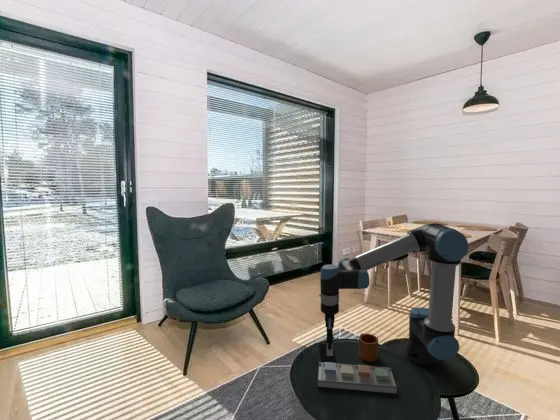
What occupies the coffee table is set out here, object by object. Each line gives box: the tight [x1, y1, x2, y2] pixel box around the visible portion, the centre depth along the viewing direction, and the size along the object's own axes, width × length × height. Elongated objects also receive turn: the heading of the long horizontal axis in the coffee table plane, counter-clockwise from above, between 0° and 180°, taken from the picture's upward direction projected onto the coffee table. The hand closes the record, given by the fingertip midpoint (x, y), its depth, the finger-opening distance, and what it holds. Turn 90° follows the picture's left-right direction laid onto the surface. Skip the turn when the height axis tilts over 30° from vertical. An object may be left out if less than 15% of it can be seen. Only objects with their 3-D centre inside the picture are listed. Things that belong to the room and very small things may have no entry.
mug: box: [358, 333, 379, 363], centre depth 146 cm, size 9×12×9 cm
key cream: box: [341, 365, 353, 378], centre depth 130 cm, size 5×5×2 cm
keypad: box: [317, 361, 398, 394], centre depth 129 cm, size 31×12×3 cm, turn 80°
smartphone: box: [318, 343, 337, 364], centre depth 148 cm, size 7×1×15 cm
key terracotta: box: [357, 364, 371, 377], centre depth 128 cm, size 5×5×2 cm
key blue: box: [324, 362, 337, 374], centre depth 131 cm, size 5×5×2 cm
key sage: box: [374, 368, 388, 381], centre depth 127 cm, size 5×5×2 cm
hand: (329, 354), depth 130 cm, fingers closed
